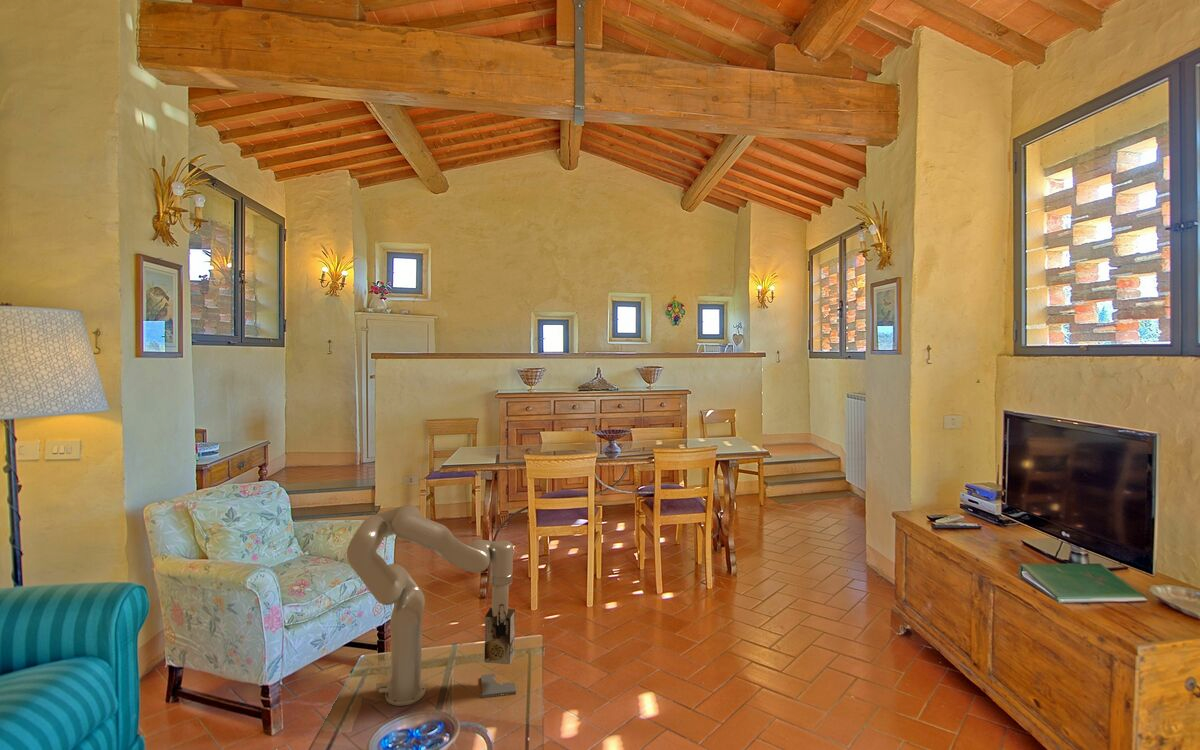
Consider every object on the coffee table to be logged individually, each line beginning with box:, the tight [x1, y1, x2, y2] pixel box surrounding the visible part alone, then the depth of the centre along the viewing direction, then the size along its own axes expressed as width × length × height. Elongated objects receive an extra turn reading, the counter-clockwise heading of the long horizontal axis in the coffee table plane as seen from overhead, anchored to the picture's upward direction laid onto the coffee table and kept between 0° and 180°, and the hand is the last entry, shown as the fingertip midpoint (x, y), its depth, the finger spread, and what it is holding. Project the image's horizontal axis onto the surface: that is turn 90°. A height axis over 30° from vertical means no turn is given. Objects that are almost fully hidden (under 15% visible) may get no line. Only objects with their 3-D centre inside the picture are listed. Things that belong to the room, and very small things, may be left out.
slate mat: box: [480, 673, 517, 699], centre depth 186 cm, size 11×11×1 cm
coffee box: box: [483, 607, 516, 665], centre depth 185 cm, size 9×6×16 cm
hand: (499, 628), depth 185 cm, fingers closed on coffee box, 7 cm apart
